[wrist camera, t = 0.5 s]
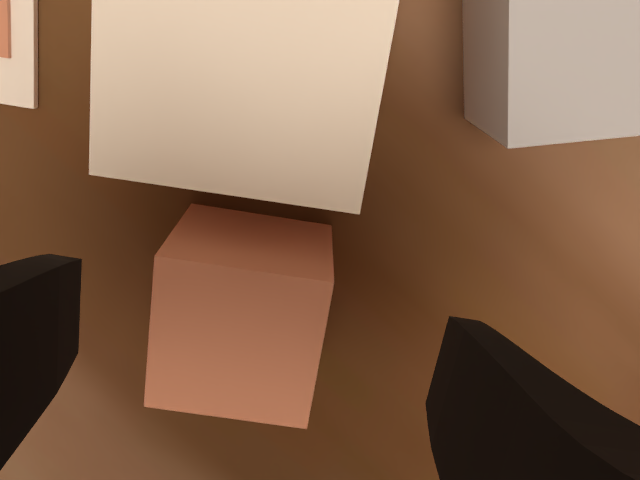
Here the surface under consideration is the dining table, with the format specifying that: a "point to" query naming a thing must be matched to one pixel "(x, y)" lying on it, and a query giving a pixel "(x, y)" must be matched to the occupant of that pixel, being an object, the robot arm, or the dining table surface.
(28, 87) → the card
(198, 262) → the terracotta cube
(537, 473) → the robot arm
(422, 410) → the dining table surface
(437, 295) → the dining table surface
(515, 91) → the grey cube
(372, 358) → the dining table surface
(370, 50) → the cream block
